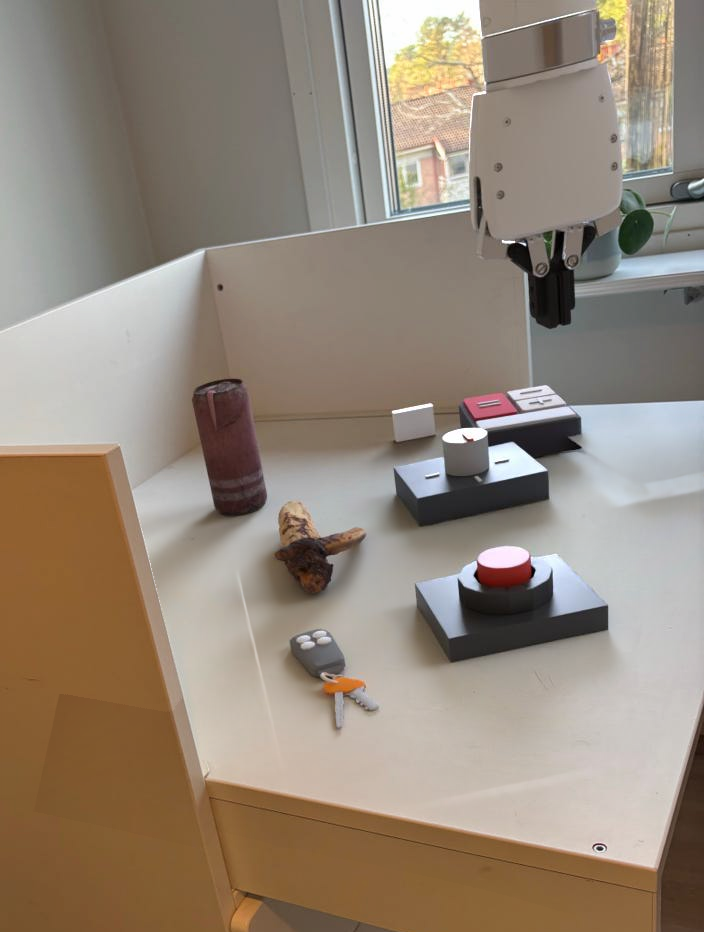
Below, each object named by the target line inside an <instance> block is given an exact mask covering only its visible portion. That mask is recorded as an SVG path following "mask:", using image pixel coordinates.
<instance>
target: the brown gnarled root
mask: <svg viewBox="0 0 704 932" xmlns="http://www.w3.org/2000/svg"><path fill="white" fill-rule="evenodd" d="M277 521H278V522H277V523H278V526H279V527H278V534H279V539H280V546H281V548H279V549H278V550H277V551H276V552H274V559H275V560H276V561H279V562H284V565H285V566H286V568H287V571H288V573H289V574H290V575H291V576H292V577H293V578H294V580H296V581H297V582H300V585H301V586H302V589H303V590H305V591H307V592H308V593H312V594H318V593H320V592H322V591H325V590H326V589H327V587H328V585H329V584H330V583H331V581H332V576H333V572H334V564H333V563H329V561H328V560H329V559H327V557H330V556H335V555H338V554H340V553H343V552H346V551H349V550H350V549H353V548H354V547H355V548H356V547H357V546H358V545H360V544H361V543H362V542H363V541H364V539H365V538H366V536H367V531H366V530H365V529H364V528H362V527H358V526H357V527H353V528H351V529H348V530H346V531H343V532H339V533H332V534H329V535H326V536H323V537H321V536H320V535H319V533H318V531H317V528H316V527H315V524H314V521H313V519H312V517H311V515H310V513H309V511H308V510H307V508H306V507H305V506H304V503H302V502H300V501H298V500H292V501H288V502H287V503H285V504H283V506H282V507H281V509H279V512H278V518H277Z"/></svg>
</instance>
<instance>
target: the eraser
mask: <svg viewBox="0 0 704 932" xmlns="http://www.w3.org/2000/svg"><path fill="white" fill-rule="evenodd" d="M391 418H392V419H391V420H392V426H393V435H394V440H395V442H396V443H400V442H405V441H410V440H411V441H412V440H416V439H421V438H426V437H430V436H436V435H437V434H436V424H435V423H436V422H435V413H434V405H433V404H432V403H431V402H430V403H426V404H421V405H416V406H410V407H405V408H400V409H396V410H391Z"/></svg>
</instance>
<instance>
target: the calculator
mask: <svg viewBox="0 0 704 932" xmlns="http://www.w3.org/2000/svg"><path fill="white" fill-rule="evenodd" d="M458 412H459V425H460V429H464V428H479V429H484V430H486V431H487V435H488V447H491V446H496V445H500V444H505V443H510V442H514V443H515V444H516V445H517V446H519V447H520V448H521V449H522V450H524V451H525V452H526V453H527V454H528V455H530V456H531V457H532V458H534V457H541V456H548V455H554V454H561V453H567V452H573V451H579V450H581V449H582V448H583V447H582V446H581V445H580V444H578V443H577V442H576V441H574V440H573V439H571V438H570V437H576V436H580V435H582V434H583V433H582V432H583V431H582V417H581V416H580V415H579V414H578V413H577V412H576V411H575V410H574V409H573V408H572V407H571V406H570V405H569V404H568V403H566V401H565V400H564V399H562V398H561V397H560V396H559V395H558V394H557V393H556V392H555V391H554V390H553V389H552V388H551V387H550V386H549V385H539V386H533V387H527V388H521V389H515V390H509V391H507V395H505V394H504V393H503V392H497V393H492V394H491V393H490V394H485V395H479V396H474V397H467V398H463V400H462V402H461V403H459V404H458Z"/></svg>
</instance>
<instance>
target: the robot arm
mask: <svg viewBox="0 0 704 932" xmlns="http://www.w3.org/2000/svg"><path fill="white" fill-rule="evenodd" d="M477 8H478V19H479V21H478V23H479V32H480V34H479V35H480V38H481V39H480V43H481V57H482V69H483V81H484V82H483V83H484V91H481V92H477V93H474V94H473V95H472V101H471V110H470V120H469V121H470V123H469V146H468V147H469V148H468V175H469V176H468V177H469V179H468V184H469V185H468V186H469V187H468V188H469V211H470V219H471V220H470V221H471V225H472V230H473V231H474V232H475V233H476V234H478V236H477V242H476V243H477V244H476V255H477V257H478V258H480V259H483V260H487V261H510V262H511V263H513V264H514V265H515V266H516V267H517V268H519V269H521V271H522V272H523V273H526V274H527V287H528V289H527V290H528V305H529V314H530V316H531V318H533V319H535V322H536V324H537V325H539V326H541V327H544V328H545V329H548V330H553V329H557V328H558V326H559V325H561V326H562V327H565V326H568V325H571V324H572V311H573V310H574V309H575V308H576V288H575V287H576V286H575V269H577V268H578V267H579V265H580V264H581V261H582V260H581V258H582V256H583V255H584V253H586V251H587V250H588V248H589V247H590V246H591V244H592V243H593V242H594V240H595V239H596V238H600V237H602V236H603V235H605V234H607V233H609V232H611V231H613V230H616V229H617V228H618V227H620V226H621V224H622V222H623V217H622V212H621V208H620V205H621V202H622V198H623V187H624V180H623V179H624V176H623V175H624V174H623V156H622V154H623V153H622V143H621V133H620V124H619V116H618V109H617V103H616V98H615V93H614V87H613V83H612V79H611V76H610V71H609V67H608V64H607V62H603V63H599V58H598V56H599V55H601V46H602V45H604V44H605V43H606V42H609V41H613V40H615V38H616V36H617V23H616V20H615V18H613V17H610V18H606V19H604V18H602V17H600V15H601V13H600V10H596V9H597V0H477ZM547 232H552V235H551V236H552V237H551V248H550V260H549V258H548V252H547V246H546V243H545V238H544V237H545V236H544V233H547ZM513 240H514V241H513Z"/></svg>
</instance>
